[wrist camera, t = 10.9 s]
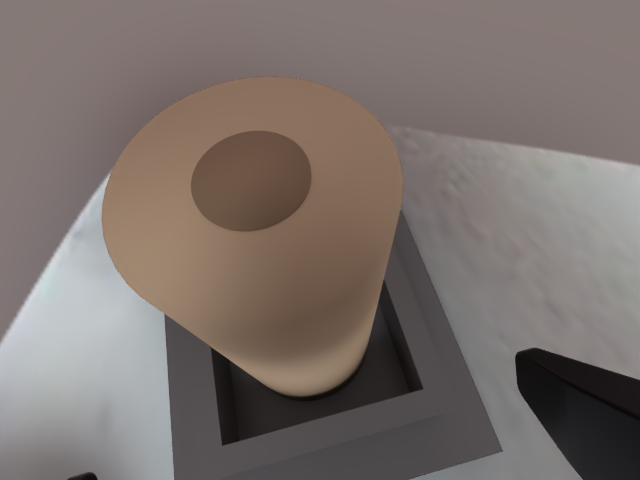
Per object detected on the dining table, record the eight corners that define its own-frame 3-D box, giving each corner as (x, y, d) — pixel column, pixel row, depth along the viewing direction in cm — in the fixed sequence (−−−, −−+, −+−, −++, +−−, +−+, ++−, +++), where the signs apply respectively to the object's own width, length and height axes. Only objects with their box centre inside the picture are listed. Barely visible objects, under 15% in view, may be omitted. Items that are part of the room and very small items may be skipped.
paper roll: (344, 421, 17) (344, 381, 6) (227, 373, 19) (33, 260, 7) (382, 301, 20) (435, 104, 8) (276, 266, 21) (194, 52, 10)
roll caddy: (490, 450, 18) (533, 452, 14) (191, 540, 17) (144, 570, 13) (390, 206, 24) (400, 160, 20) (171, 260, 23) (135, 222, 19)
